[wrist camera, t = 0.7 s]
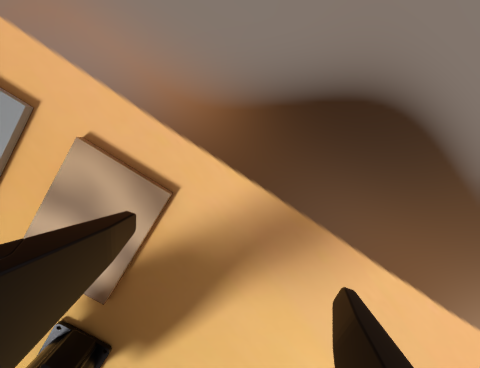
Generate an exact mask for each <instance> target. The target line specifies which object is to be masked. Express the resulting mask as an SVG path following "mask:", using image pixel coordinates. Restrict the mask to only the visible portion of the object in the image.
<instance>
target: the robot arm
mask: <svg viewBox="0 0 480 368" xmlns="http://www.w3.org/2000/svg"><path fill="white" fill-rule="evenodd" d="M135 231H136V214H135V213H132V212H129V211H124V212H120V213H116V214H112V215H109V216H105V217H101V218H98V219H94V220H90V221H86V222H83V223H79V224H75V225H71V226H68V227H64V228H60V229H57V230H53V231H49V232H45V233H42V234H38V235H34V236H30V237H27V238H25V239H19V240H15V241H12V242H8V243H4V244H0V368H15V367H16V366H17V365H18V364H19V363H20V362H21V360H22V359H23V358H24V357H25V356H26V355H27V354H28V353H29V352H30V351H31V350H32V349H33V348H34V346H35V345H36V344H37V343H38V342H39V341H40V340H41V339H42V338H43V337H44V336H45V335H46V333H47V332H48V331H49V330H50V329H51V328H52V327H53V326H54V325H55V324H56V323H57V322H58V321H59V319H60V318H61V317H62V316H63V315H64V314H65V313H66V312H67V311H68V310H69V309H70V308H71V306H72V305H73V304H74V303H75V302H76V301H77V300H78V299H79V298H80V297H81V296H82V295H83V294H84V292H85V291H86V290H87V289H88V288H89V287H90V286H91V285H92V284H93V283H94V282H95V281H96V279H97V278H98V277H99V276H100V275H101V274H102V273H103V272H104V271H105V270H106V269H107V268H108V266H109V265H110V264H111V263H112V262H113V261H114V259H115V258H116V257H117V256H118V254H119V253H120V252H121V250H122V249H123V248H124V246H125V245H126V244H127V242H128V241H129V240H130V238H131V237H132V236H133V234H134V233H135ZM111 349H112V348H111V346H110V345H108V344H106V343H104V342H102V341H100V340H98V339H97V338H95V337H93V336H91V335H89V334H87V333H85V332H83V331H81V330H79V329H77V328H75V327H73V326H71V325H69V324H67V323H65V322H63V321H59V322H58V323H57V324H56V325H55V326H54V328H53V329H52V331H51V333H50V335H49V336H48V338H47V340H46V341H45V343H44V345H43V347H42V348H41V350H40V352H39V353H38V355H37V357H36V358H35V359H34V360H33V361H32V362H31V363H30V364H29V365H28V366H27V367H26V368H100V367H101V365H102V364H103V362H104V361H105V359H106V358H107V356H108V354H109V353H110V351H111ZM333 355H334V364H335V368H414V367H413V366H412V365H411V363H410V362H409V361H408V360H407V358H406V357H405V356H404V354H403V353H402V352H401V350H400V349H399V348H398V347H397V345H396V344H395V343H394V341H393V340H392V339H391V338H390V336H389V335H388V334H387V332H386V331H385V330H384V328H383V327H382V326H381V325H380V323H379V322H378V321H377V319H376V318H375V317H374V316H373V314H372V313H371V312H370V310H369V309H368V308H367V306H366V305H365V304H364V303H363V301H362V300H361V299H360V297H359V296H358V295H357V293H356V292H355V291H354V290H351V289H348V288H346V287H343V288H341V290H340V291H339V293H338V294H337V296H336V297H335V299H334V301H333Z"/></svg>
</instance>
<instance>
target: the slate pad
mask: <svg viewBox="0 0 480 368" xmlns="http://www.w3.org/2000/svg"><path fill="white" fill-rule="evenodd" d="M32 110H33V107H32V106H30V105H28V104H27V103H25V102H23V101H22V100H20V99H18V98H17V97H15V96H14V95H12V94H10V93H9V92H7V91H5V90H4V89H2V88H0V176H1V174H2V172H3V170H4V168H5V166H6V164H7V162H8V160H9V158H10V155H11V153H12V151H13V149H14V147H15V145H16V143H17V141H18V139H19V137H20V135H21V133H22V131H23V129H24V127H25V125H26V123H27V120H28V118H29V116H30V114H31V112H32Z"/></svg>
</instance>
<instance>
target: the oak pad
mask: <svg viewBox="0 0 480 368" xmlns="http://www.w3.org/2000/svg"><path fill="white" fill-rule="evenodd" d="M172 194H173V192H171V191H169V190H168V189H166V188H164V187H163V186H161V185H159V184H158V183H156V182H155V181H153V180H151V179H150V178H148V177H146V176H145V175H143V174H141V173H140V172H138V171H136V170H135V169H133V168H132V167H130V166H128V165H127V164H125V163H123V162H122V161H120V160H118V159H117V158H115V157H114V156H112V155H110V154H109V153H107V152H105V151H104V150H102V149H100V148H99V147H97V146H95V145H94V144H92V143H91V142H89V141H87V140H86V139H84V138H82V137H76V139H75V141H74V143H73V144H72V146H71V148H70V150H69V152H68V154H67V156H66V158H65V160H64V162H63V164H62V165H61V167H60V169H59V171H58V173H57V175H56V177H55V179H54V181H53V183H52V185H51V186H50V188H49V190H48V192H47V194H46V196H45V198H44V200H43V202H42V204H41V205H40V207H39V209H38V211H37V213H36V215H35V217H34V219H33V221H32V223H31V225H30V226H29V228H28V230H27V232H26V234H25V236H24V238H23V239H25V238H27V237H30V236H34V235H38V234H42V233H45V232H49V231H53V230H57V229H60V228H64V227H68V226H71V225H75V224H79V223H83V222H86V221H90V220H94V219H98V218H101V217H105V216H109V215H112V214H116V213H120V212H124V211H129V212H132V213H135V214H136V231H135V233H134V234H133V236H132V237H131V238H130V240H129V241H128V242H127V244H126V245H125V246H124V248H123V249H122V250H121V252H120V253H119V254H118V256H117V257H116V258H115V259H114V261H113V262H112V263H111V264H110V265H109V266H108V268H107V269H106V270H105V271H104V272H103V273H102V274H101V275H100V276H99V277H98V278H97V279H96V281H95V282H94V283H93V284H92V285H91V286H90V287H89V288H88V289H87V290H86V291H85V292H84V294H85V295H87V296H88V297H90V298H92V299H94V300H96V301H98V302H100V303H102V304H103V305H104V303H105V302H106V301H107V300H108V298H109V297H110V295H111V294H112V292H113V290H114V289H115V287H116V285H117V284H118V282H119V280H120V279H121V277H122V276H123V274H124V272H125V271H126V269H127V267H128V266H129V264H130V262H131V261H132V259H133V258H134V256H135V254H136V253H137V251H138V249H139V248H140V246H141V245H142V243H143V241H144V240H145V238H146V236H147V235H148V233H149V231H150V230H151V228H152V227H153V225H154V223H155V222H156V220H157V218H158V217H159V215H160V213H161V212H162V210H163V209H164V207H165V205H166V204H167V202H168V200H169V199H170V197H171V196H172Z"/></svg>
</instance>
